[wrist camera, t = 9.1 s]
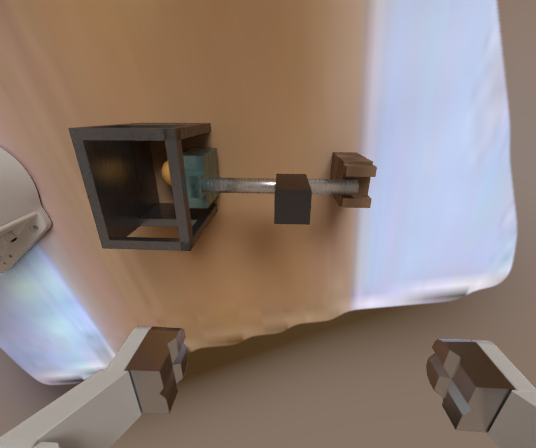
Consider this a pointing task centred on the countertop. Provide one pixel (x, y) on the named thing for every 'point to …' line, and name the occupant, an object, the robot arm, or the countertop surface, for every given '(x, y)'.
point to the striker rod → (258, 187)
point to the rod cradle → (353, 177)
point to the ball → (166, 173)
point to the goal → (138, 183)
